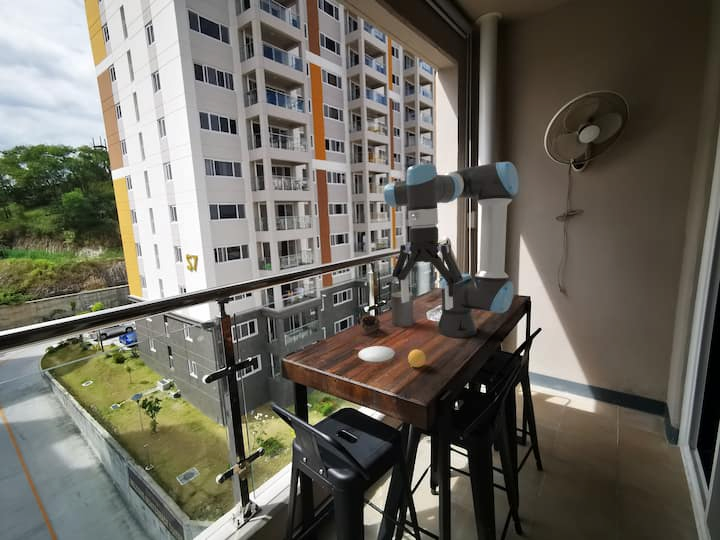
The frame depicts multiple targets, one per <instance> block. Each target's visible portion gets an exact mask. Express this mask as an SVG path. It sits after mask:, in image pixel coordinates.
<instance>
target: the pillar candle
mask: <svg viewBox="0 0 720 540" xmlns="http://www.w3.org/2000/svg"><path fill="white" fill-rule="evenodd" d="M413 295H414V294H413V293H412V292H410V291H409V301H408V302H405V303H402V299H401V291H396V292H392V293H391V294H390V297H391V300H390V301H391V319H392V322H391V324H392V326H394V327H396V328H397V327H398V328H407V327H411V326H413V324H414V303H413V302H414V301H413V300H414V296H413Z"/></svg>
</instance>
